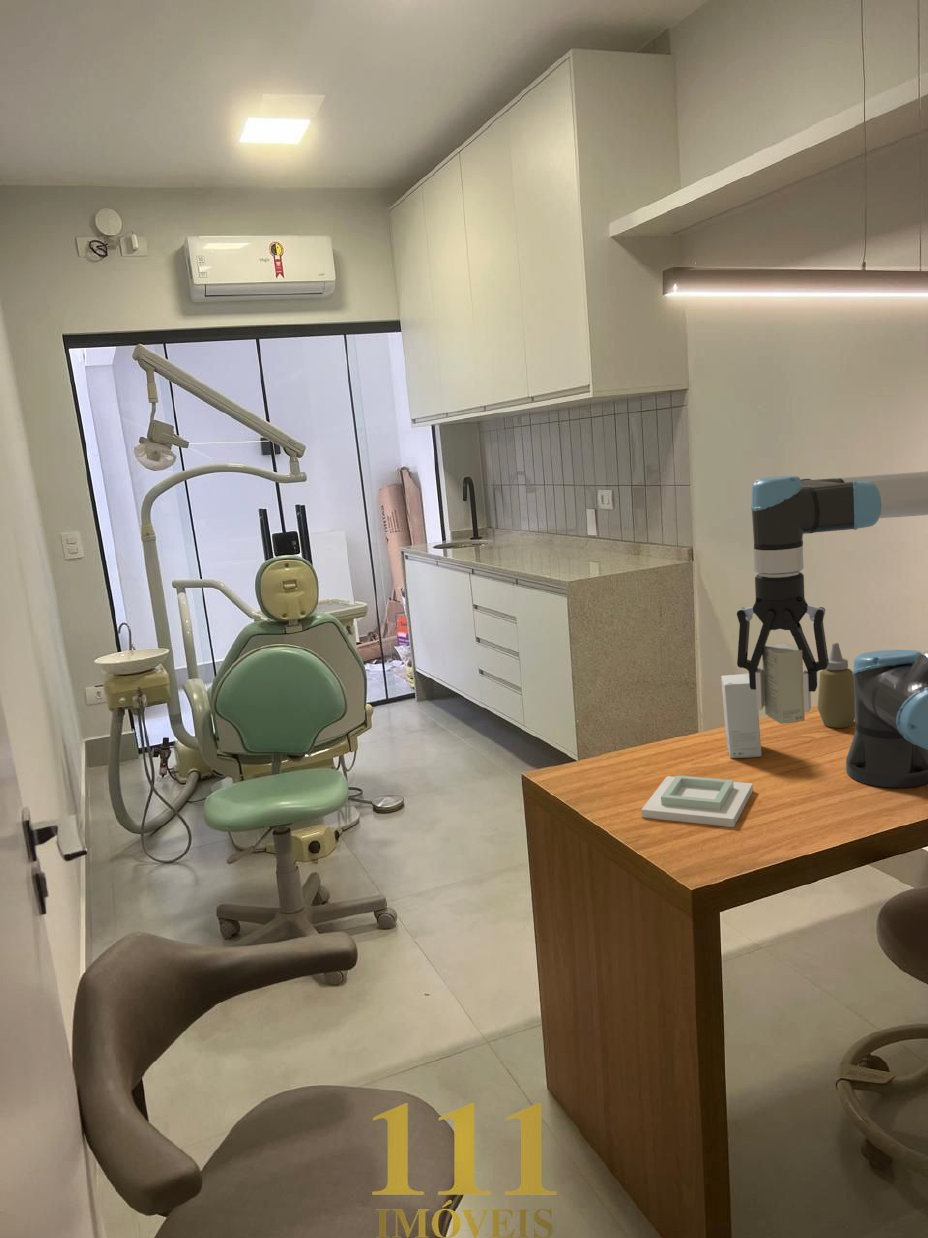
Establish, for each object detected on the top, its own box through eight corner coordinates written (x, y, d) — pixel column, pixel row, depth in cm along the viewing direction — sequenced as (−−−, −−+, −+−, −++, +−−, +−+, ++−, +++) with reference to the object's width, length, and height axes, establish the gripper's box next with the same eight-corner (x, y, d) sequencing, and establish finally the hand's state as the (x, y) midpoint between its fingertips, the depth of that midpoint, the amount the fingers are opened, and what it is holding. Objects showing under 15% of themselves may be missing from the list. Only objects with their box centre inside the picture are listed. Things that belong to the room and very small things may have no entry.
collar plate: (753, 791, 165) (752, 775, 164) (733, 827, 151) (732, 810, 151) (667, 783, 173) (666, 768, 172) (641, 817, 159) (640, 801, 159)
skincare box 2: (805, 721, 147) (804, 650, 145) (779, 725, 147) (778, 653, 144) (786, 710, 153) (786, 641, 151) (762, 714, 153) (761, 644, 151)
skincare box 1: (761, 758, 180) (758, 683, 177) (727, 759, 182) (723, 685, 179) (757, 743, 188) (753, 672, 185) (724, 745, 190) (720, 674, 187)
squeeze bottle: (826, 732, 190) (823, 650, 187) (812, 720, 198) (809, 641, 195) (865, 728, 190) (862, 645, 187) (848, 716, 198) (846, 637, 194)
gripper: (846, 567, 144) (849, 704, 148) (722, 570, 153) (728, 699, 158) (842, 575, 138) (845, 718, 142) (712, 578, 147) (719, 712, 151)
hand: (783, 708), depth 150 cm, fingers closed on skincare box 2, 7 cm apart
